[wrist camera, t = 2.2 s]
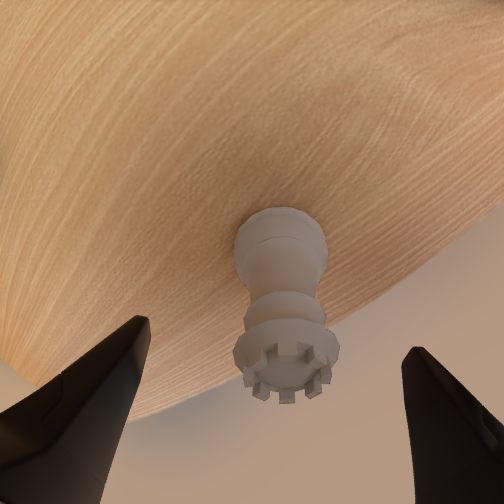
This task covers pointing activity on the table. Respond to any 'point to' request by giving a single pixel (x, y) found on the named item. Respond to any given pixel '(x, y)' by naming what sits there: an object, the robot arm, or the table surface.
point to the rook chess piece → (283, 305)
